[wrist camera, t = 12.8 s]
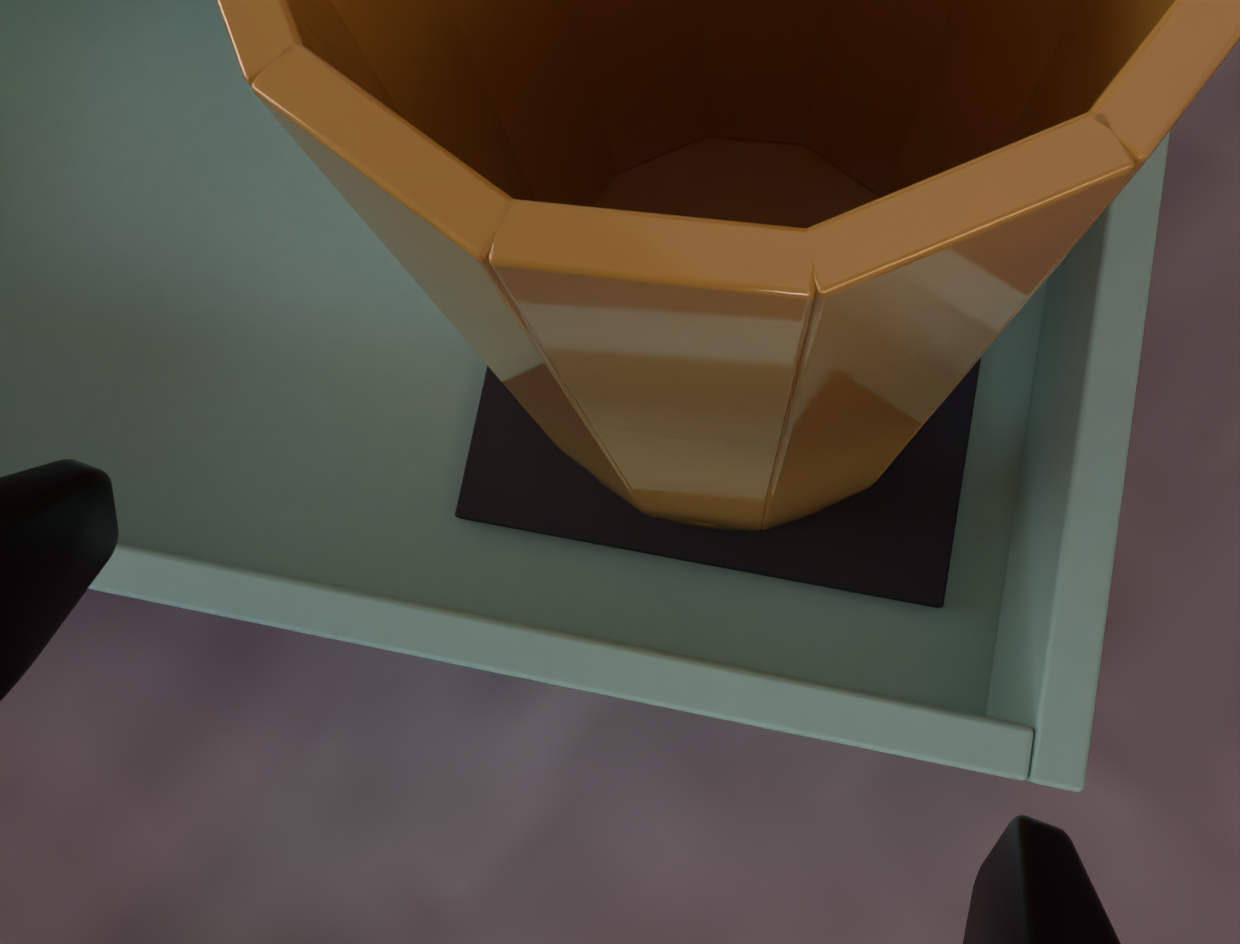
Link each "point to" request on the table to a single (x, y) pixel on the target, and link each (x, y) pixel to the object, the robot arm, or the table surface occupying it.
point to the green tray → (444, 421)
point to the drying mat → (797, 551)
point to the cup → (730, 203)
